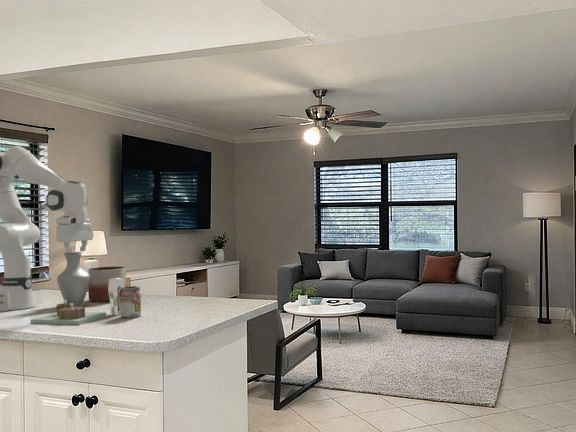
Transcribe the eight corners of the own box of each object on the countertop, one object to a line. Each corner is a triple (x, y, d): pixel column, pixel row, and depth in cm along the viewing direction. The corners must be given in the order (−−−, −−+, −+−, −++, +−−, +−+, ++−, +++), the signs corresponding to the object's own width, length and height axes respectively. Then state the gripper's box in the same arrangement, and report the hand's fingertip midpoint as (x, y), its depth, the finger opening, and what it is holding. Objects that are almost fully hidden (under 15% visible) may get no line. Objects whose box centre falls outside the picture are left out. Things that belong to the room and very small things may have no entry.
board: (30, 323, 222) (30, 305, 222) (60, 314, 239) (60, 298, 239) (79, 324, 216) (79, 306, 216) (106, 316, 234) (106, 299, 234)
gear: (54, 315, 230) (53, 305, 230) (63, 312, 236) (63, 302, 236) (66, 315, 229) (66, 305, 229) (76, 312, 235) (75, 302, 235)
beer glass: (110, 316, 233) (109, 279, 233) (107, 313, 239) (106, 278, 239) (127, 314, 237) (126, 278, 236) (124, 312, 243) (123, 277, 243)
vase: (76, 309, 254) (74, 253, 254) (50, 307, 259) (49, 253, 259) (97, 303, 267) (96, 250, 267) (72, 302, 272) (71, 250, 272)
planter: (111, 296, 291) (110, 265, 291) (134, 298, 281) (133, 267, 281) (81, 301, 277) (80, 269, 277) (103, 304, 266) (102, 270, 266)
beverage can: (134, 319, 226) (134, 289, 225) (115, 319, 227) (114, 289, 227) (144, 314, 235) (144, 286, 235) (125, 314, 236) (125, 286, 236)
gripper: (84, 218, 251) (84, 250, 251) (53, 219, 231) (53, 253, 231) (96, 218, 249) (97, 250, 249) (66, 219, 229) (66, 254, 229)
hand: (75, 252), depth 240 cm, fingers open, 8 cm apart
